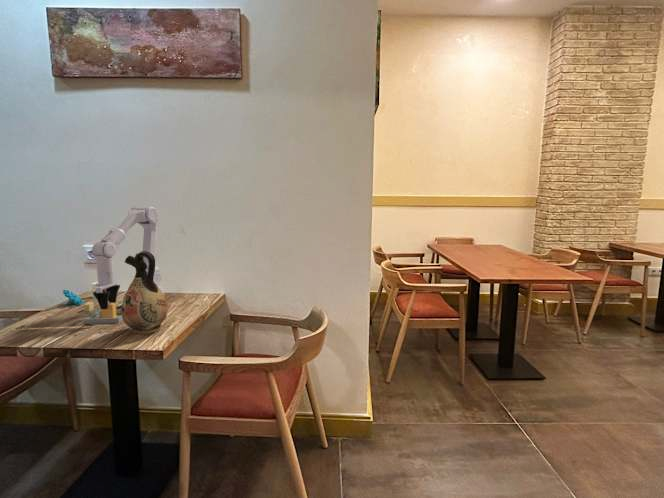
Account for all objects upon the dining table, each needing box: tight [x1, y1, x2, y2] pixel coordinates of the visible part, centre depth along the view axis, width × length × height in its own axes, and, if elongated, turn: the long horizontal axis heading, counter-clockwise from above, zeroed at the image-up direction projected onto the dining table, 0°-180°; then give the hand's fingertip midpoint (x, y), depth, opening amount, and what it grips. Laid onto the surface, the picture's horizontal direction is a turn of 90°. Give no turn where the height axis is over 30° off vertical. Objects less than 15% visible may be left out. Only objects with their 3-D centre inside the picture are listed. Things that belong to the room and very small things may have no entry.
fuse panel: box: [77, 301, 119, 315], centre depth 170 cm, size 12×10×4 cm
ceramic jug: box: [121, 250, 169, 335], centre depth 146 cm, size 17×15×30 cm
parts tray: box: [85, 308, 124, 327], centre depth 159 cm, size 12×12×2 cm
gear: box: [62, 289, 85, 306], centre depth 178 cm, size 11×6×10 cm
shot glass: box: [90, 281, 98, 299], centre depth 193 cm, size 7×7×7 cm
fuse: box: [100, 302, 118, 318], centre depth 159 cm, size 4×3×6 cm, turn 96°
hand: (108, 306), depth 159 cm, fingers open, 7 cm apart
